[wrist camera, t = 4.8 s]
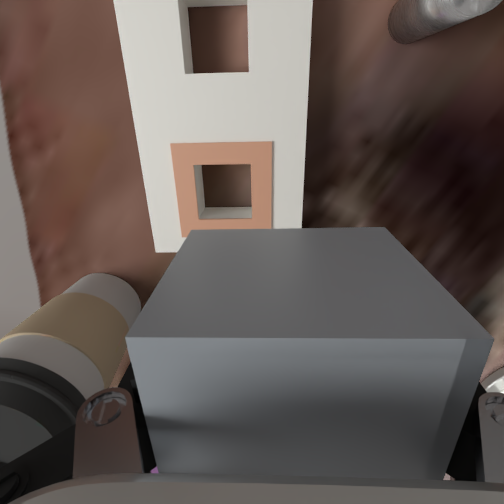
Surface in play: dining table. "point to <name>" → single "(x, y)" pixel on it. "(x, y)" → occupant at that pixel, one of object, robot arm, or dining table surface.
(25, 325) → the coffee cup
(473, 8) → the pin
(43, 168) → the dining table surface
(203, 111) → the board
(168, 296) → the cover
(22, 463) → the robot arm
